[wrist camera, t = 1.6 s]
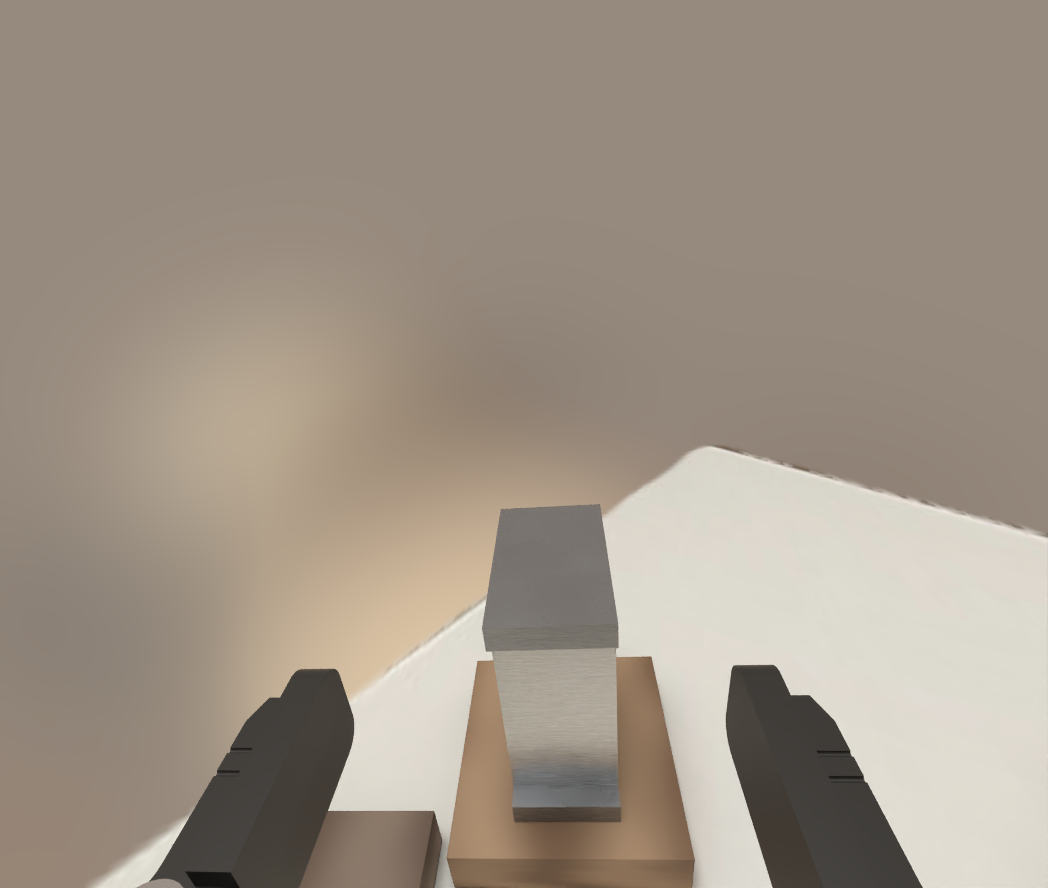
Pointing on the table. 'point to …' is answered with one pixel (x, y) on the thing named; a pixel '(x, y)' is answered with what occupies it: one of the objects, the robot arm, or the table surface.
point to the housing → (556, 662)
